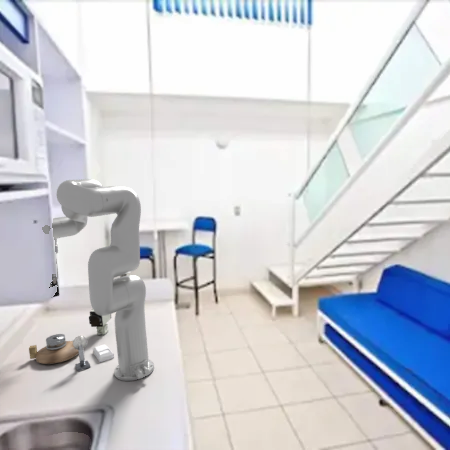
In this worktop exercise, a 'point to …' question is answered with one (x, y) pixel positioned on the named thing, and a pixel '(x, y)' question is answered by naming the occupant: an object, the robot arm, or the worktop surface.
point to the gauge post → (81, 352)
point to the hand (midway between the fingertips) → (52, 293)
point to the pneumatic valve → (99, 322)
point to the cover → (55, 342)
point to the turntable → (53, 354)
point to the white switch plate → (103, 353)
